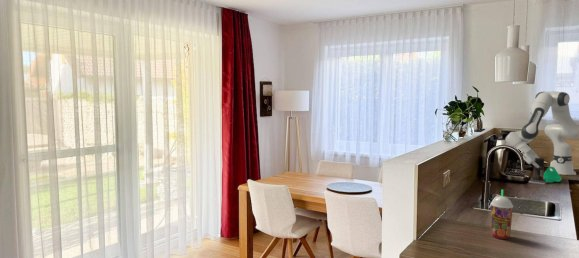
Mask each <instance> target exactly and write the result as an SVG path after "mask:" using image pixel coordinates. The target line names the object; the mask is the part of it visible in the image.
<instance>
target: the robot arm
mask: <svg viewBox="0 0 579 258" xmlns="http://www.w3.org/2000/svg"><path fill="white" fill-rule="evenodd" d="M570 98H571V97H570V95H569V93H567V92H565V91H553V90H552V91H540V92H538V93H537V94H536V95H535V99H534V100H533V102H532V104H531V107H530V108H529V113H530V114H531V117H530V119H529V121H528V123H526V124H525V125H524V126H523V127H522V128H521V129H520V130H519V131H510V132H509V133H507V135H506V136H505V138H504V140H505V142H506V143H507V145H508V144H509V145H512V146H514V147H516V148H517V149H519V150H520V151H521V153H522V154H523V158H524V159H523V160H524V161H525V162H526V164H528V165H531V164H532V165H533V167H534V166H536V167H537V168H538V167H540V166H539V165H538V164H537V163H536V162H535V161H536V160H535V158H540V156H538V154H537V153H536V152H535V151H534V150H533V148H532V147H531V146H529V145H528V144H529V143H531V142H532V141H533V140H534V139H535V138H536V137H537V136H538V135H539V125H540V123H541V121H542V120H543V119H542V118H544V117H545V116H546V115H547V114H548V112H549V110H550V109H551V114H552V115H551V116H552V119H553V120H554V122H557V123H551V124H547V125H546V126H545V127H544V134H545V136H547V138H548V139H550V140H551V143H552V144H553V156H552V161H550V166H549V167H551V166H552V167H554V168H555V169H556V171H557V172H558V174H559V175H564V176H565V175H566V176H567V175H568V176H576V175H577V173H576V171H575V168H574V163H573V162H572V159H573V158H572V157H573V156H572V146H571V144H569V143H567V142H566V141H565V140H564V139H572V140H573V139H579V124H578V123H577V122H575V121H574V119H573V118H572V116H571V113H570V106H569V103H570ZM509 145H508V146H509ZM550 171H552V169H550Z"/></svg>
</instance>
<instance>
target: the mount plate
mask: <svg viewBox="0 0 579 258" xmlns="http://www.w3.org/2000/svg"><path fill="white" fill-rule="evenodd" d="M528 183H530V184H538V185H546V184H547V183H549V182H548V181H546V180H545V179H543V180H534V179H533V177H531V178H530V180H529V181H528Z"/></svg>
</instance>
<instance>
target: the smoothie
mask: <svg viewBox="0 0 579 258" xmlns="http://www.w3.org/2000/svg"><path fill="white" fill-rule="evenodd" d="M500 192H501V193H500V195H498V196H496V197H494V198H493V199H492V200H491V202H490V224H491V225H490V226H491V227H490V228H491V230H490V231H491V234H492V236H493V237H494V238H496V239H499V240H500V239H501V240H505V239H506V240H507V239H509V236H511V231H512V230H511V229H512V220H513V210H514V205H513V203H512V201H511V199H509V197H507V196H504V189H501V191H500Z"/></svg>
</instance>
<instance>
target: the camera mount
mask: <svg viewBox="0 0 579 258" xmlns="http://www.w3.org/2000/svg"><path fill="white" fill-rule="evenodd" d="M550 169H552V171H550ZM560 175H561V174H558V172H557V171H556V169H555V168H554V167H552V166H551V167H550V166H549V167H547V168H546V170H544V175H543V179H545V180H546V181H548V183H554V182H557V183H558V182H561V181H562V177H561V176H560Z"/></svg>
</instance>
